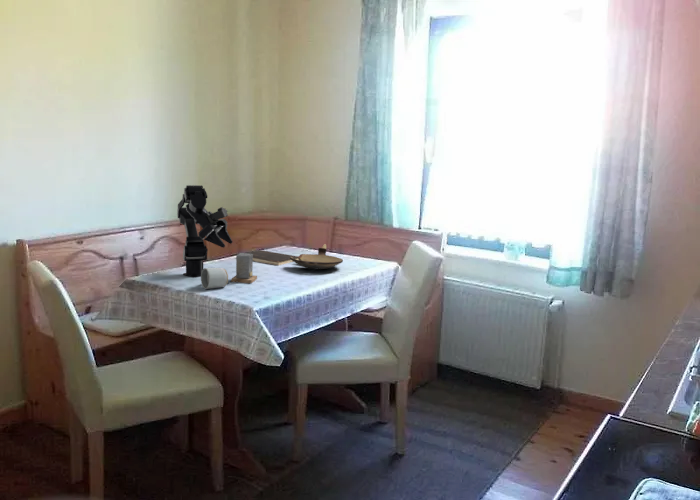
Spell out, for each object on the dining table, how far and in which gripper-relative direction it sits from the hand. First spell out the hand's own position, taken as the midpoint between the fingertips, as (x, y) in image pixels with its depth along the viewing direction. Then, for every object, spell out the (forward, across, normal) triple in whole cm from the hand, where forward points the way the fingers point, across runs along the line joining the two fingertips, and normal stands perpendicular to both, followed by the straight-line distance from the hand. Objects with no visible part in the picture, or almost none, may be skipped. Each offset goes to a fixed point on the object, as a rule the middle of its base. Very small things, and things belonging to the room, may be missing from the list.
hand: (228, 244), depth 259 cm
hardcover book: (+14, +43, +6) cm, 46 cm away
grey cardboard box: (+13, 0, +4) cm, 14 cm away
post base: (+14, 0, +5) cm, 15 cm away
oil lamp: (+31, +33, -12) cm, 47 cm away
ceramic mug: (+9, -14, +11) cm, 19 cm away
